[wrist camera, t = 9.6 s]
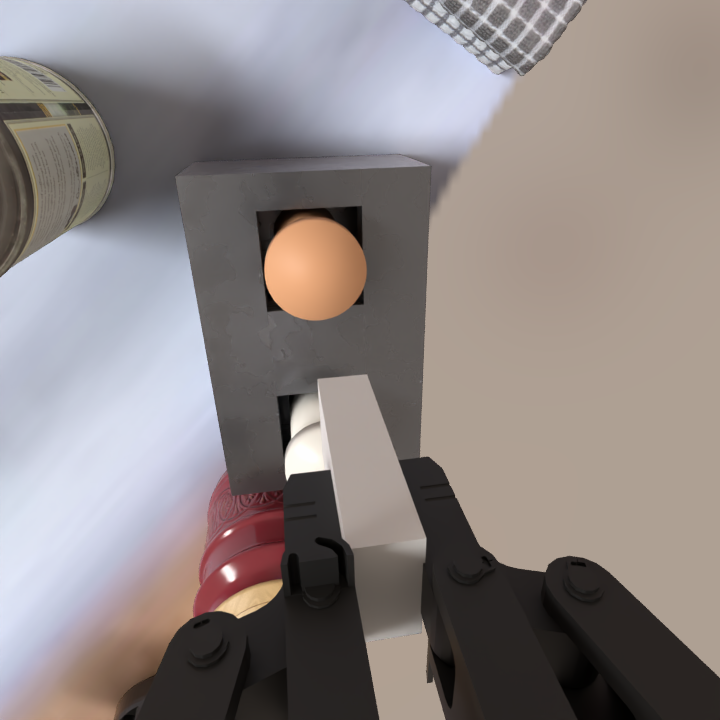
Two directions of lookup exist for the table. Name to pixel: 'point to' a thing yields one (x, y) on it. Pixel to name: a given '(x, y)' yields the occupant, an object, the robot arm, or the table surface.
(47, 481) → the table surface
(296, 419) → the white knob
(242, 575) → the canister
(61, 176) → the coffee can
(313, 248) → the tan round-topped peg
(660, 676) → the robot arm
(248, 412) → the block
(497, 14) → the towel
